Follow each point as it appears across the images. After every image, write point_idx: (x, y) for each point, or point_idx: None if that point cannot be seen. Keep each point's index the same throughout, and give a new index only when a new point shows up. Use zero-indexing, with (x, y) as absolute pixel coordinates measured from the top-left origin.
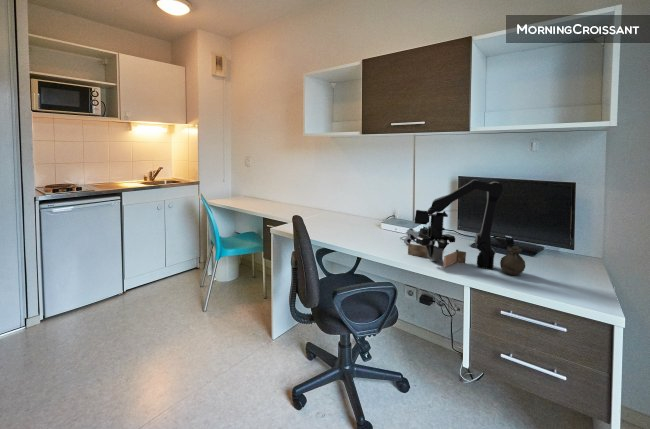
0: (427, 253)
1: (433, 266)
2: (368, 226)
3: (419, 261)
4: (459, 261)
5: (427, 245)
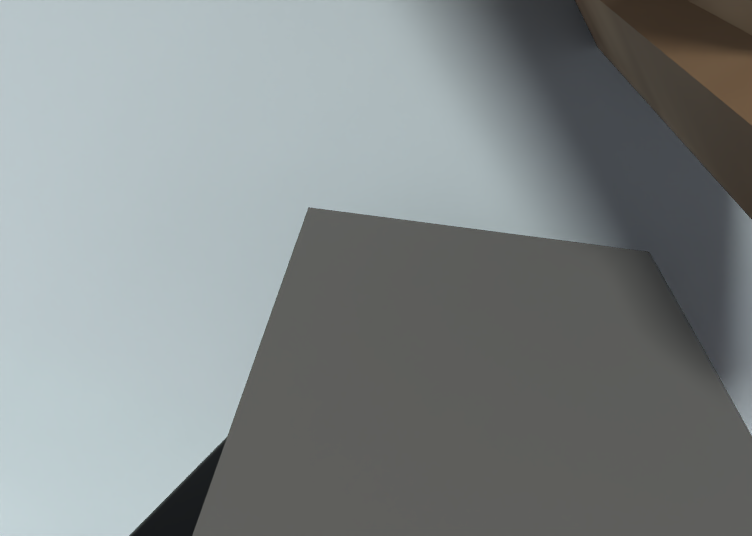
0: (278, 313)
1: None
2: None
3: (24, 170)
4: None
5: None
